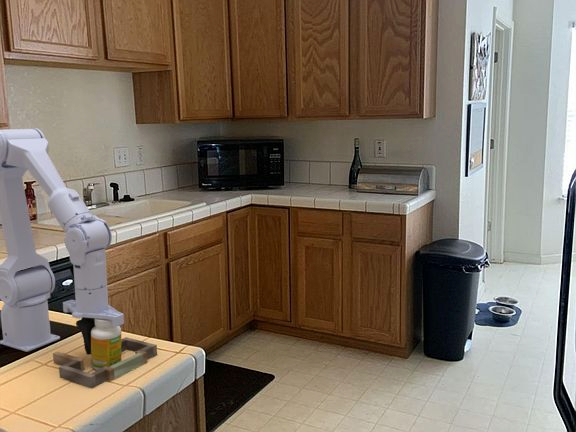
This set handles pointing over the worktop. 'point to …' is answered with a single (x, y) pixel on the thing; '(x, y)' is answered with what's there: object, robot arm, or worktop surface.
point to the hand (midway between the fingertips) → (95, 353)
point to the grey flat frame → (75, 365)
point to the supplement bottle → (105, 344)
